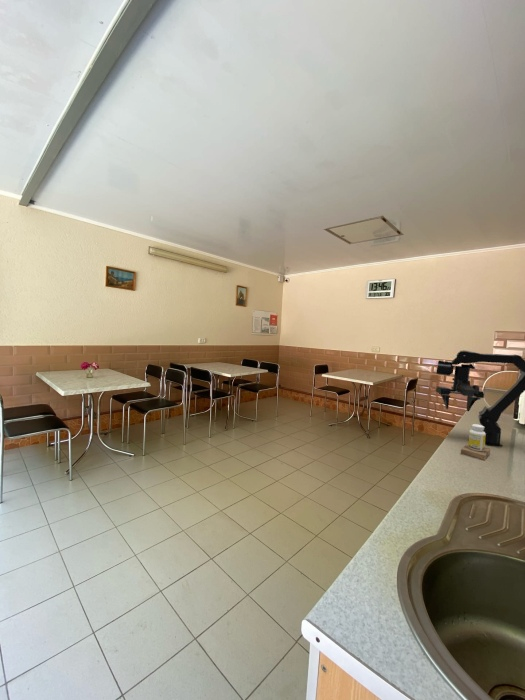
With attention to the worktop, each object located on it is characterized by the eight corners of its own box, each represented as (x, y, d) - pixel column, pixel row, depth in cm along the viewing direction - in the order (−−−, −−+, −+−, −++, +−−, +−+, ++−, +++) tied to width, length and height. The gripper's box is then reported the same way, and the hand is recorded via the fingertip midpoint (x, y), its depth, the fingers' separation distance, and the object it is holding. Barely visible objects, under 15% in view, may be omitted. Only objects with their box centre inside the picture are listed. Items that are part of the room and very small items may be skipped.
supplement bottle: (478, 446, 125) (480, 423, 124) (487, 452, 119) (489, 428, 119) (465, 445, 125) (467, 423, 124) (473, 451, 120) (475, 427, 119)
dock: (466, 447, 129) (467, 443, 128) (489, 453, 123) (490, 448, 123) (460, 453, 122) (461, 449, 122) (484, 460, 116) (485, 455, 116)
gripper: (448, 378, 132) (444, 412, 133) (494, 382, 130) (489, 417, 131) (437, 374, 143) (433, 406, 144) (479, 378, 141) (474, 410, 142)
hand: (457, 410), depth 140 cm, fingers open, 9 cm apart
